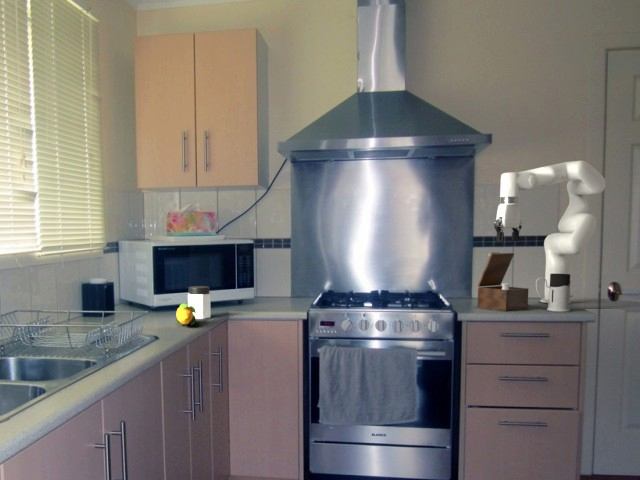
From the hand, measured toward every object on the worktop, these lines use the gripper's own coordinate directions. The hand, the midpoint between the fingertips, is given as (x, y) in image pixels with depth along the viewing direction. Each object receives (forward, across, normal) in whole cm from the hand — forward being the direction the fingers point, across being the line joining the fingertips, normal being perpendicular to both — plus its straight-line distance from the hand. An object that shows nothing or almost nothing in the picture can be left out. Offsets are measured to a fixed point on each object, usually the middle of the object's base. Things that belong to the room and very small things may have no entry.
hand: (507, 241), depth 285 cm
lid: (+12, +8, +1) cm, 15 cm away
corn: (+28, +144, -21) cm, 148 cm away
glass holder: (+28, -4, +20) cm, 35 cm away
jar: (+28, +131, -37) cm, 139 cm away
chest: (+28, +8, +5) cm, 30 cm away
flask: (+28, +9, +7) cm, 30 cm away
